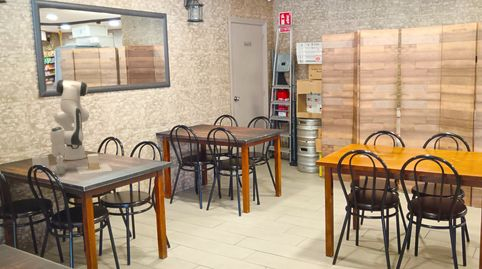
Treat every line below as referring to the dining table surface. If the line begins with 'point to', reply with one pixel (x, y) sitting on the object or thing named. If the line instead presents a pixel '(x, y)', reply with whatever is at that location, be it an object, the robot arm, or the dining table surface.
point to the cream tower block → (93, 158)
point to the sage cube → (58, 170)
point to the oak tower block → (93, 166)
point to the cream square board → (85, 170)
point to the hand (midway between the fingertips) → (60, 171)
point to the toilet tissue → (40, 161)
